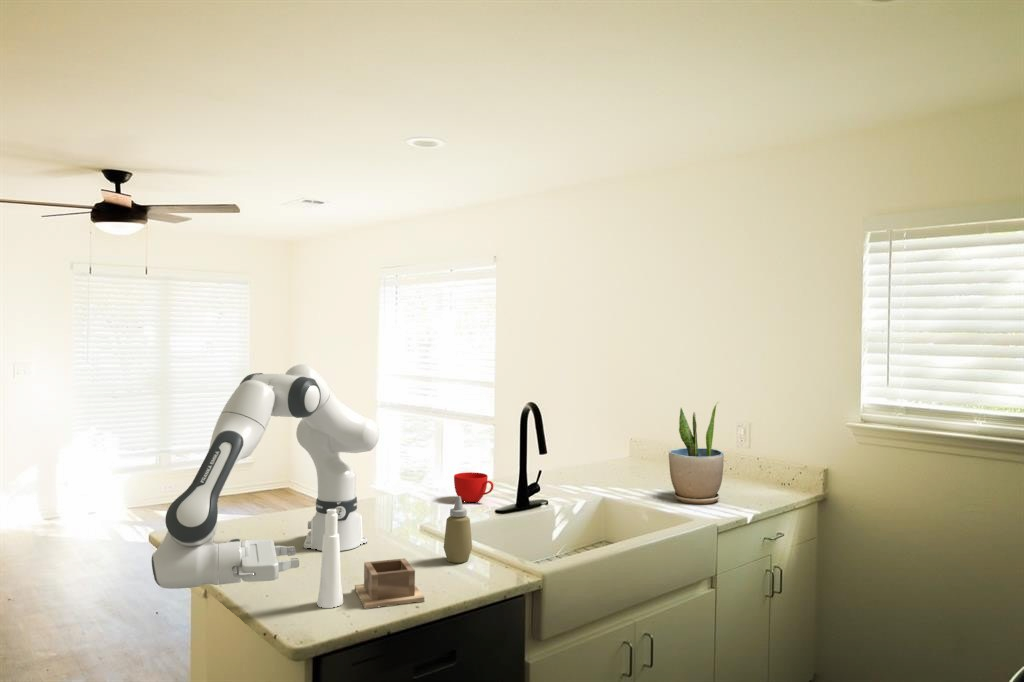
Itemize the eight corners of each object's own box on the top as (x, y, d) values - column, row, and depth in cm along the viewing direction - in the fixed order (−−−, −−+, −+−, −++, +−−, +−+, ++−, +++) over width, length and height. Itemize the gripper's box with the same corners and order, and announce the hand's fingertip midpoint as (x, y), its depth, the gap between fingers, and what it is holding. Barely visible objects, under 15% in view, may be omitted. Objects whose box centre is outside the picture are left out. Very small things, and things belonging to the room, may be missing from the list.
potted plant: (665, 504, 278) (667, 400, 278) (670, 492, 298) (671, 396, 298) (722, 508, 272) (724, 402, 271) (723, 496, 292) (724, 398, 292)
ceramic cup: (482, 508, 266) (483, 481, 266) (446, 502, 275) (447, 476, 275) (502, 502, 277) (502, 476, 277) (466, 496, 286) (467, 471, 286)
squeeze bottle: (448, 566, 197) (449, 500, 197) (439, 557, 205) (440, 494, 205) (476, 563, 201) (477, 498, 201) (466, 554, 208) (467, 492, 208)
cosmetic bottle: (311, 604, 167) (312, 510, 167) (331, 597, 172) (332, 505, 172) (329, 610, 164) (330, 514, 164) (349, 602, 169) (350, 509, 169)
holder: (354, 589, 178) (355, 560, 178) (410, 582, 183) (410, 555, 183) (364, 609, 165) (365, 578, 165) (424, 601, 170) (424, 572, 170)
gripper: (233, 562, 151) (301, 555, 156) (232, 536, 170) (293, 531, 175) (232, 592, 151) (301, 584, 156) (232, 563, 170) (293, 557, 175)
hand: (297, 556), depth 166 cm, fingers open, 8 cm apart
